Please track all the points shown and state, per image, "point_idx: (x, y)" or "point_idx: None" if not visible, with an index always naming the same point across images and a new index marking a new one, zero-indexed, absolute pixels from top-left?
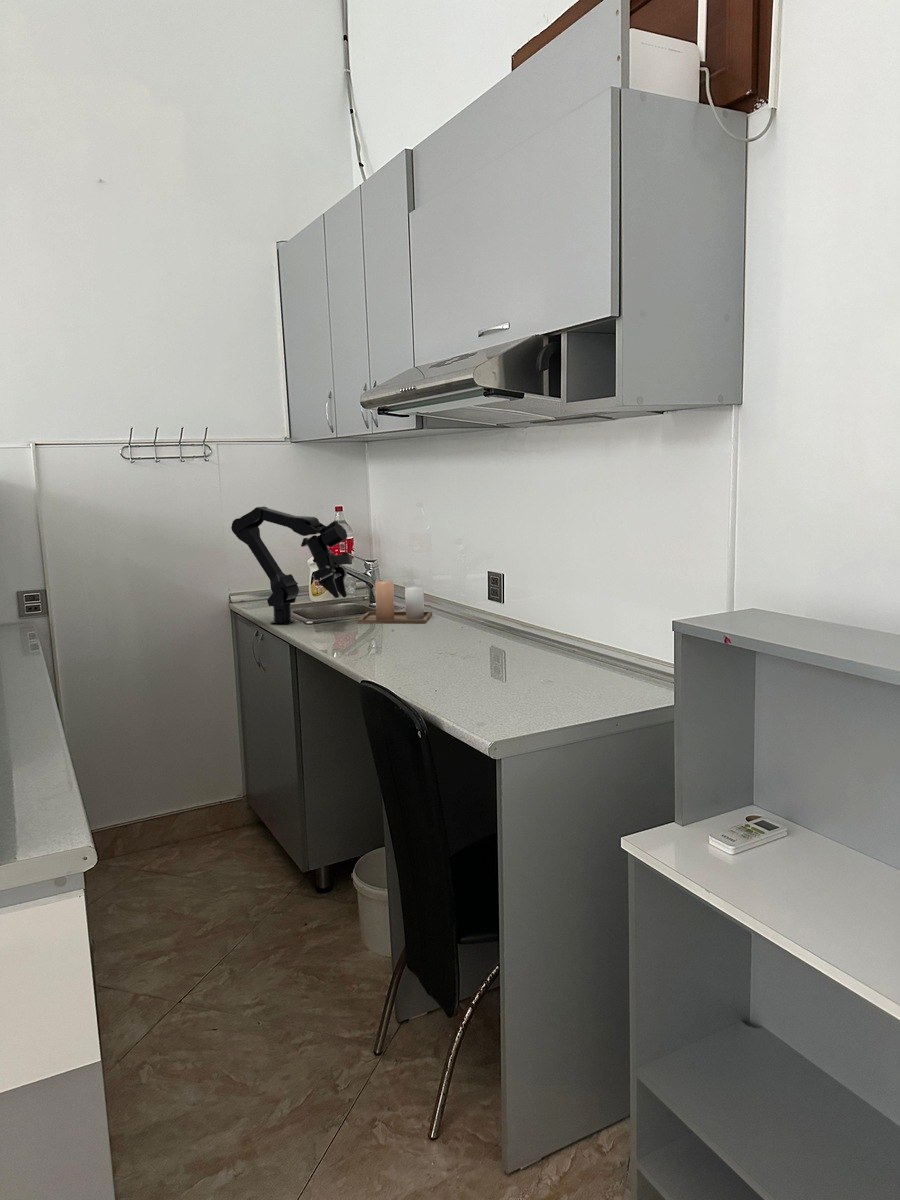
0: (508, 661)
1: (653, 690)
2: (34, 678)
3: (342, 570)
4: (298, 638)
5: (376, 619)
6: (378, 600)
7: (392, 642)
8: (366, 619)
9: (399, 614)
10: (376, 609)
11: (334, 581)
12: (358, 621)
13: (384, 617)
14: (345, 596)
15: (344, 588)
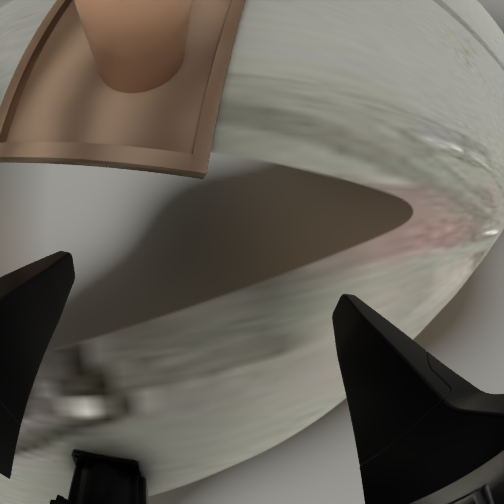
0: (468, 23)
1: (485, 10)
2: None
3: None
4: None
5: (151, 86)
6: (177, 10)
7: (432, 99)
8: (103, 140)
9: (52, 29)
10: (152, 57)
11: (449, 394)
12: (206, 167)
13: (185, 46)
14: (72, 262)
15: (23, 287)
